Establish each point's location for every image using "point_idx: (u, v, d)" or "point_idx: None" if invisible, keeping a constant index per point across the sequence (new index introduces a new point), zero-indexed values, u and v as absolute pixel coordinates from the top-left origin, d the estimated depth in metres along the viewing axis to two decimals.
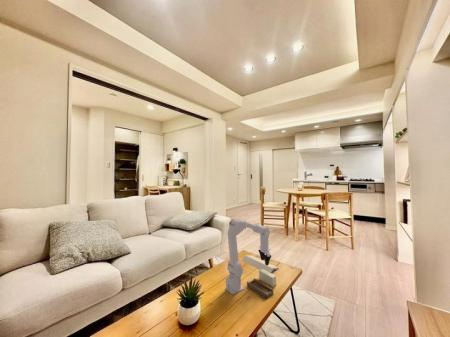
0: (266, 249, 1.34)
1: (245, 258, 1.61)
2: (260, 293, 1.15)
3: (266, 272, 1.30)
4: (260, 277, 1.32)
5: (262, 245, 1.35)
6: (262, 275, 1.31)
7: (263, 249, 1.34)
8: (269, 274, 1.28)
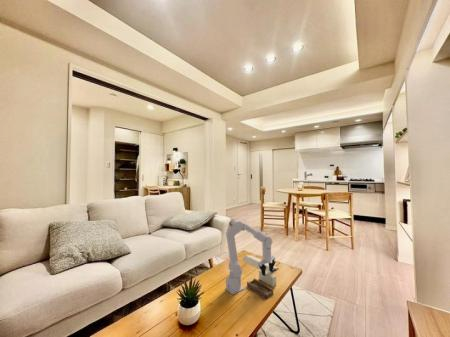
0: (264, 259, 1.28)
1: (245, 258, 1.61)
2: (260, 293, 1.15)
3: (266, 272, 1.30)
4: (260, 277, 1.32)
5: None
6: (262, 275, 1.31)
7: None
8: (269, 274, 1.28)
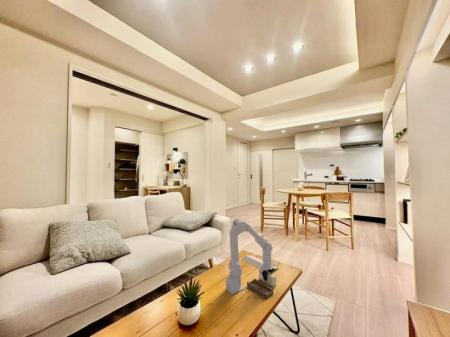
0: (264, 265, 1.28)
1: (245, 258, 1.61)
2: (260, 293, 1.15)
3: None
4: (260, 277, 1.32)
5: None
6: (262, 275, 1.31)
7: (263, 264, 1.30)
8: (269, 274, 1.28)
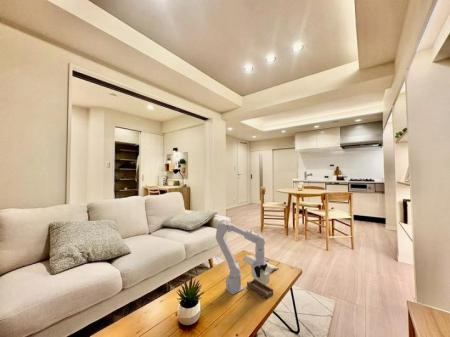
0: (257, 261, 1.20)
1: (245, 258, 1.61)
2: (260, 293, 1.15)
3: None
4: (253, 274, 1.24)
5: None
6: (254, 273, 1.23)
7: None
8: (262, 271, 1.20)
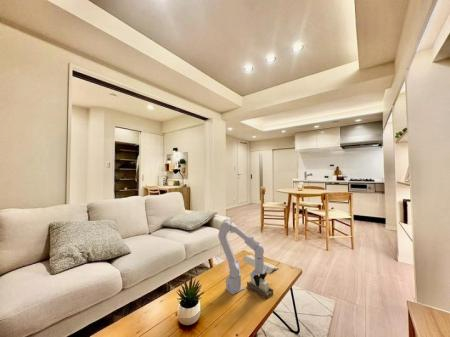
0: (256, 269, 1.19)
1: (245, 258, 1.61)
2: (260, 293, 1.15)
3: None
4: (252, 283, 1.23)
5: None
6: (254, 282, 1.22)
7: None
8: (261, 280, 1.19)
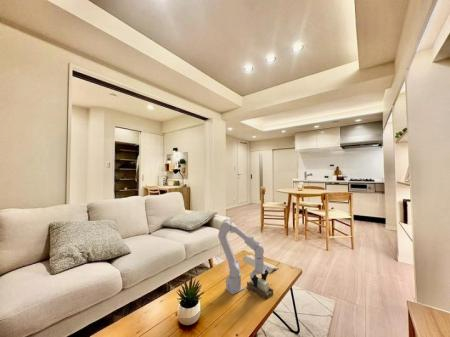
0: (256, 269, 1.19)
1: (245, 258, 1.61)
2: (260, 293, 1.15)
3: (258, 278, 1.21)
4: (252, 283, 1.23)
5: None
6: None
7: None
8: (261, 280, 1.19)
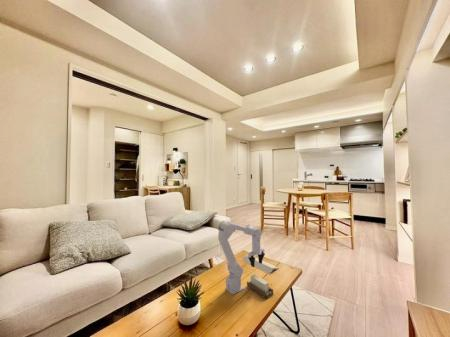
0: (253, 251, 1.30)
1: (245, 258, 1.61)
2: (260, 293, 1.15)
3: (258, 278, 1.21)
4: (252, 283, 1.23)
5: (252, 245, 1.33)
6: (254, 282, 1.22)
7: (252, 250, 1.32)
8: (261, 280, 1.19)
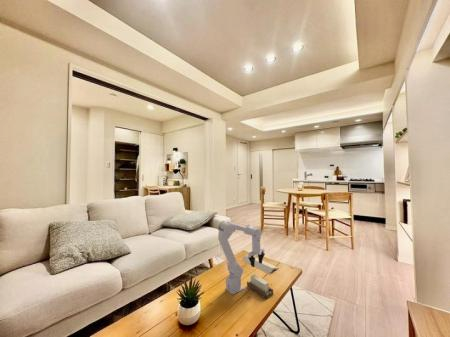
0: (253, 251, 1.30)
1: (245, 258, 1.61)
2: (260, 293, 1.15)
3: (258, 278, 1.21)
4: (252, 283, 1.23)
5: (252, 245, 1.33)
6: (254, 282, 1.22)
7: (252, 250, 1.32)
8: (261, 280, 1.19)
